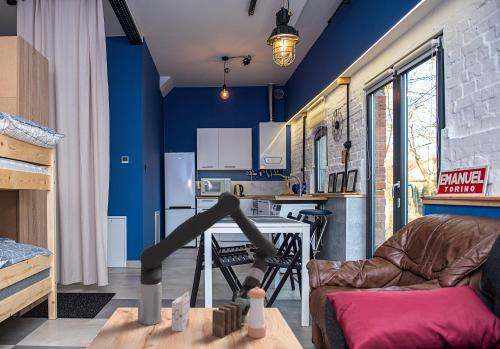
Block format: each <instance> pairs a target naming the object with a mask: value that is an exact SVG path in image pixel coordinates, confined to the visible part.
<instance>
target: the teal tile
mask: <svg viewBox="0 0 500 349" xmlns="http://www.w3.org/2000/svg"><path fill="white" fill-rule="evenodd" d="M235 303H239V304H242V313H243V310H244V308H245V306H247V305H246V304H247V299H242V298H235ZM247 317H248V314H247V315H246V316H244V315H243V314H242V325H243V324H248V321H247V320H248V318H247Z"/></svg>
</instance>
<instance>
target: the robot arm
mask: <svg viewBox="0 0 500 349" xmlns="http://www.w3.org/2000/svg"><path fill="white" fill-rule="evenodd" d="M240 205H241V200H240V198H239V196H238V195H236V194H234V193H232V192H230V191H223V192H221V193H220V194H219V196H218V198H217V202H216V203H214V205H212V206H211V207H210V208H208V209H206V210H204V211H201V212H199V213H197V214H194V215H192V216H191V217H189V218H188V219H185V221H183V222H181V223H180V224H179V225H177V226H176V227H175V228H174V229H173V230H172V231H171V232H170V233H169V234H168V235H167V236H166V237H165V238H163V239H162V240H160V241H159V242H157V243H155V244H154V245H153V244H152V245H151V244H150V245H147V246H146V247H145V248H144V249H143V250H142V252H141V253H140V258H139V259H140V260H139V261H140V276H139V279H140V281H139V283H140V285H139V287H140V288H139V289H140V291H139V294H140V295H139V299H138V300H137V323H139V324H141V325H144V326H152V325H153V326H154V325H157V324H159V323H161V322H162V294H163V292H162V290H163V288H162V286H163V284H162V282H163V280H162V279H163V262H164V261H165V260H166V259H167V258H169V256H170V255H172V254H173V253H175V252H176V251H178V250H180V249H181V248H183V247H185V246H187V245H188V244H190V243H191V242H192V241H194V240H196V239H197V238H198V237H200V236H201V235H202V234H204V233H205V232H207V231H208V230H209V229H211V228H212V227H213V226H215V225H216V224H217V223H218V222H220V221H222V220H223V219H225V218H227V217H230V218H231V219H232V220H233V222H234V223H235V224H236V225H237V226H238V228H239V229H240V231H241V232H242V233H243V235H244V236H245V238H246V239H247V240H248V241H249V242H250V244H251V245H252V246H254V247H257V248H256V249H255V251H254V252H255V253H254V257H253V263H252V265H251V267H250V269H249V270H248V272H247V275H246V277H245V279H244V281H243V283H242V285H241V288H240V289H239V290H237V289H236V288H235V289H233V292H232V297H231V302H234V303H235V298H242V299H247V304H246V305H247V306H245V308H244V310H243V313H242V314H243V315H244V316H246V315H247V316H248V315H249V314H248V313H249V312H250V297H249V295H248V293H249V291H250V290H251V289H253V288H255V287H259V288H260V287H261V284H262V282H263V280H264V277H265V274H266V272H267V270H268V262H267V261H266V260H267V259H274V258H275V257H277V254H278V249H277V247H276V245H275V243H273V242H272V241H271V240H270V239H269V238H268V237H266V236H265V235H263V233H262V231H261V230H260V229H259V228H258V227H257V225H256V224H255V223H254V221H252V220H251V219H250V217H248V215H247V214H246V213H245V212H244V210H243V209H242V208H241V206H240Z"/></svg>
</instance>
